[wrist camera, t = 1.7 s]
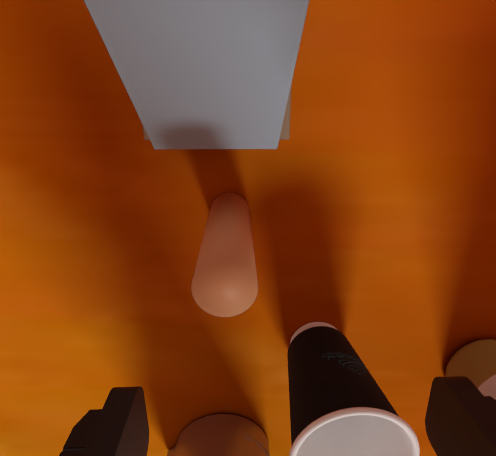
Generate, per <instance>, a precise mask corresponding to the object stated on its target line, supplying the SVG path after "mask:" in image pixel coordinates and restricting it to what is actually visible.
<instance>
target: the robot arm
mask: <svg viewBox="0 0 496 456" xmlns="http://www.w3.org/2000/svg"><path fill="white" fill-rule="evenodd" d="M425 426H426V432H427V435H428V438H429V441H430V443H431V445H432V447H433V449H434V450H435V452H436V454H437V456H496V400H495V399H494V398H492V397H491V396H484V395H483V394H482V393H481V392H480V391H479V390H478V388H477V387H476V386H475V385H474V384H473V382H472V381H471V380H470V379H469V378H467V377H465V376H449V377H436V378H434V380H433V382H432V387H431V392H430V397H429V402H428V407H427V412H426V418H425ZM148 443H149V426H148V419H147V413H146V406H145V399H144V392H143V388H142V387H114V388H112V389H111V391H110V393H109V395H108V397H107V400H106V402H105V404H104V406H103V409H99V410H89V411H88V413H87V414H86V415H85V416H84V417H83V418H82V419H81V420H80V421H79V422H78V423H77V424H76V425H75V426H74V427H73V429H72V431H71V433H70V435H69V437H68V439H67V441H66V443H65V445H64V447H63V452H61V453H60V455H59V456H146V455H147V450H148ZM167 456H270V455H269V445H268V440H267V437H266V435H265V433H264V432H263V431H262V429H261V428H260V427H259V426H257V425H256V424H255V423H254V422H252V421H250V420H248V419H246V418H243V417H240V416H237V415H231V414H215V415H209V416H205V417H203V418H200V419H197V420H196V421H194V422H192V423H191V424H189V425H188V426H187V427H186V428H185V429H184V430H183V431H182V433H181V434H180V436H179V438H178V441H177V443H176V446H175V447H174V448H172V449H171V450H169V451H168V454H167Z"/></svg>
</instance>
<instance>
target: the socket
mask: <svg viewBox="0 0 496 456" xmlns="http://www.w3.org/2000/svg"><path fill="white" fill-rule="evenodd" d="M84 2H85V4H86V6H87V8H88V10H89V12H90V14H91V16H92V18H93V21H94V23H95V25H96V27H97V29H98V31H99V33H100V35H101V37H102V40H103V42H104V44H105V46H106V48H107V50H108V52H109V54H110V56H111V59H112V61H113V63H114V65H115V67H116V69H117V71H118V73H119V75H120V78H121V80H122V82H123V84H124V86H125V88H126V90H127V92H128V94H129V97H130V99H131V101H132V103H133V105H134V107H135V109H136V111H137V113H138V116H139V118H140V120H141V122H142V124H143V132H144V140H150V141H151V143H152V145H153V147H154V149H277V147H278V143H279V140H280V139H289V132H290V106H291V82H292V78H293V73H294V68H295V64H296V59H297V54H298V50H299V45H300V40H301V36H302V31H303V27H304V22H305V17H306V13H307V8H308V3H309V0H84Z"/></svg>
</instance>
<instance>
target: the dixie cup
mask: <svg viewBox="0 0 496 456" xmlns="http://www.w3.org/2000/svg"><path fill="white" fill-rule="evenodd" d="M288 376H289V397H290V419H291V441H292V447H291V450H290V454H289V456H419V452H420V451H419V443H418V439H417V436H416V434H415V432H414V431H413V429H412V428H411V427H410V426H409V425H408V424H407V423H406V422H405V421H404V420H403V419H401V418H400V417H399V416H398V414H397V413H396V411H395V410H394V408H393V407H392V405H391V404H390V402H389V401H388V399H387V398H386V396H385V395H384V393H383V392H382V390H381V389H380V387H379V386H378V384H377V383H376V381H375V380H374V378H373V377H372V376H371V374H370V373H369V371H368V370H367V368H366V367H365V365H364V364H363V362H362V361H361V359H360V358H359V356H358V355H357V353H356V352H355V350H354V349H353V347H352V346H351V344H350V343H349V341H348V340H347V338H346V337H345V336H344V335H343V334H342V333H341V332H340V331H338V330H337V328H335V327H334V326H332V325H331V324H328V323H325V322H312V323H308V324H306V325H303V326H302V327H300V328H299V329H298V330H297V331H296V332H295V333H294V334H293V336H292V338H291V340H290V345H289V348H288Z"/></svg>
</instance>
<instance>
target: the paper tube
mask: <svg viewBox="0 0 496 456" xmlns="http://www.w3.org/2000/svg"><path fill="white" fill-rule="evenodd" d="M449 376H465V377H467V378H469V379H470V380H471V381H472V382H473V384H474V385H475V386H476V387H477V388H478V390H479V391H480V392H481V393H482V394H483V395H484V396H491V397H492V398H494V399H495V400H496V340H494V339H482V340H477V341H474V342H471V343H469V344H467V345H465V346H463V347H462V348H460V349H459V350H458V351H457V352H456V353H455V354H454V355H453V356H452V357H451V359H450V361H449V362H448V365H447V368H446V377H449Z"/></svg>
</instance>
